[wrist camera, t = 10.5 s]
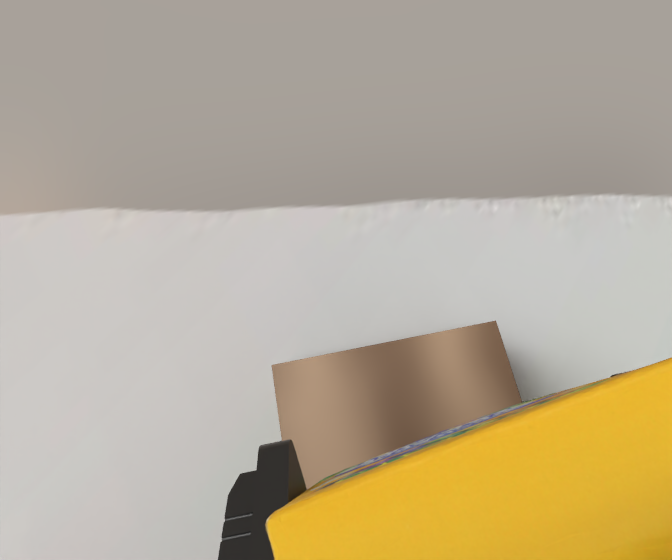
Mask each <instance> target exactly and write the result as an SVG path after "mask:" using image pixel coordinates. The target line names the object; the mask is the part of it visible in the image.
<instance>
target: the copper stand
mask: <svg viewBox="0 0 672 560" xmlns="http://www.w3.org/2000/svg"><path fill="white" fill-rule="evenodd" d="M272 371H273V379H274V386H275V393H276V401H277V408H278V415H279V422H280V430H281V437H282V441H284V440H289V439H291V440H292V442H293V444H294V447H295V451H296V454H297V457H298V461H299V464H300V467H301V471H302V474H303V477H304V481H305V484H306V489H309V488H311V487H312V486H313V485H315V484H316V483H318V482H319V481H321V480H322V479H324V478H326V477H328V476H330V475H333V474H335V473H337V472H340V471H342V470H344V469H347V468H350V467H352V466H355V465H358V464H360V463H363V462H365V461H368V460H370V459H372V458H374V457H377V456H379V455H382V454H384V453H387V452H390V451H393V450H396V449H398V448H401V447H403V446H405V445H408V444H411V443H413V442H416V441H418V440H421V439H424V438H426V437H429V436H432V435H434V434H437V433H439V432H442V431H444V430H447V429H450V428H453V427H455V426H458V425H461V424H463V423H466V422H469V421H472V420H475V419H477V418H480V417H482V416H485V415H488V414H491V413H494V412H497V411H500V410H502V409H505V408H508V407H511V406H513V405H517V404H520V403H522V401H521V397H520V394H519V391H518V388H517V385H516V382H515V379H514V376H513V373H512V370H511V366H510V363H509V360H508V357H507V354H506V351H505V348H504V345H503V342H502V338H501V335H500V332H499V329H498V326H497V323H496V321H492V322H487V323H482V324H477V325H472V326H467V327H462V328H457V329H452V330H447V331H442V332H437V333H432V334H427V335H422V336H416V337H411V338H406V339H401V340H396V341H391V342H386V343H381V344H376V345H371V346H366V347H361V348H356V349H351V350H346V351H341V352H336V353H331V354H326V355H321V356H316V357H311V358H305V359H300V360H295V361H290V362H285V363H280V364H275V365H272Z"/></svg>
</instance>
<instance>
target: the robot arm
mask: <svg viewBox="0 0 672 560" xmlns="http://www.w3.org/2000/svg"><path fill="white" fill-rule="evenodd" d="M629 372H630V371H629ZM624 373H627V372H624ZM620 374H623V373H619V374H615V375H612V376H611V377H613V376H616V375H620ZM306 490H307V489H306V484H305V481H304V477H303V474H302V471H301V467H300V464H299V461H298V457H297V454H296V451H295V447H294V444H293V442H292V440H291V439H289V440H284V441H280V442H275V443H270V444H265V445H261V446H260V447H259V451H258V461H257V470H256V471H251V472H246V473H242V474H240V475H239V477H238V479H237V480H236V482H235V484H234V486H233V488H232V489H231V491H230V493H229V495H228V500H227V506H226V512H225V522H224V525H223V531H222V542H221V544H220V550H219V557H218V560H274V556H273V551H272V547H271V543H270V540H269V537H268V534H267V531H266V526H265V524H266V520H267V519H268V517H269V516H270V515H271V514H272V513H274V512H275V511H276V510H278V509H280V508H282V507H284V506H285V505H287V504H288V503H289V502H291V501H292V500H293V499H295V498H296V497H297V496H299V495H300V494H301V493H303V492H305V491H306Z"/></svg>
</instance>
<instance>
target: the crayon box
mask: <svg viewBox="0 0 672 560" xmlns="http://www.w3.org/2000/svg"><path fill="white" fill-rule="evenodd" d="M265 526H266V531H267V534H268V537H269V540H270V543H271V547H272V551H273V556H274V560H672V358H669V359H666V360H663V361H660V362H658V363H655V364H652V365H649V366H646V367H643V368H639V369H636V370H633V371H630V372H627V373H623V374H620V375H616V376H613V377H610V378H607V379H603V380H600V381H596V382H593V383H589V384H586V385H582V386H579V387H575V388H572V389H568V390H565V391H561V392H558V393H554V394H551V395H547V396H544V397H540V398H537V399H534V400H530V401H526V402H523V403H520V404H517V405H513V406H511V407H508V408H505V409H502V410H500V411H497V412H494V413H491V414H488V415H485V416H482V417H480V418H477V419H475V420H472V421H469V422H466V423H463V424H461V425H458V426H455V427H453V428H450V429H447V430H444V431H442V432H439V433H437V434H434V435H432V436H429V437H426V438H424V439H421V440H418V441H416V442H413V443H411V444H408V445H405V446H403V447H401V448H398V449H396V450H393V451H390V452H387V453H384V454H382V455H379V456H377V457H374V458H372V459H370V460H368V461H365V462H363V463H360V464H358V465H355V466H352V467H350V468H347V469H344V470H342V471H340V472H337V473H335V474H333V475H330V476H328V477H326V478H324V479H322V480H321V481H319V482H318V483H316V484H315V485H313V486H312V487H311V488H309V489H307V490H306V491H305V492H303V493H301V494H300V495H299V496H297V497H296V498H295V499H293V500H292V501H291V502H289V503H288V504H287V505H285V506H284V507H282V508H280V509H278V510H276V511H275V512H274V513H272V514H271V515H270V516H269V517H268V519H267V520H266V524H265Z"/></svg>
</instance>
